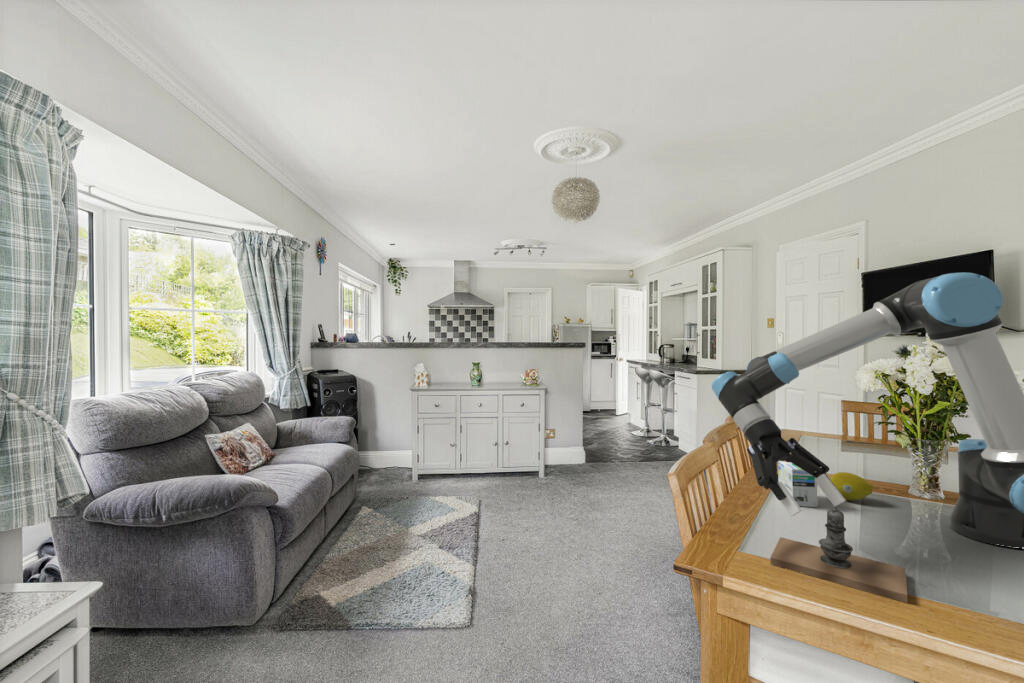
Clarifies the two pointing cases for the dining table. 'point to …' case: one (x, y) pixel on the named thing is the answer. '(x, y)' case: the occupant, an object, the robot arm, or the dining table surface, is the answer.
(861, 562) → the walnut board
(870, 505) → the dining table surface
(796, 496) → the light bulb box
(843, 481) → the lemon
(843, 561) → the grey tall carved piece
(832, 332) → the robot arm
